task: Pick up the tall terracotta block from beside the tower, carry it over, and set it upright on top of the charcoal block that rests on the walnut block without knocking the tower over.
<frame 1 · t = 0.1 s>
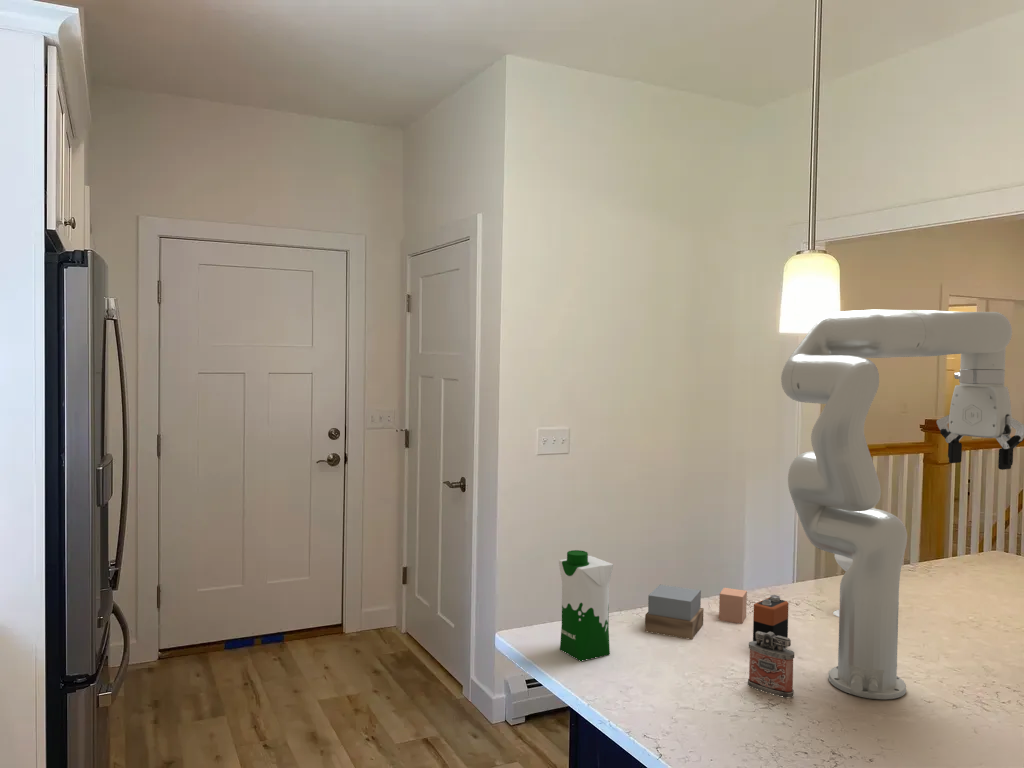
hand: (979, 465, 154), 37 cm above the countertop, tool pointing down, fingers open, 9 cm apart
lighter: (770, 691, 137), on the countertop
pillar block: (732, 618, 174), on the countertop
battery: (770, 648, 157), on the countertop
milk carton: (585, 653, 153), on the countertop
tower top: (674, 611, 167), point 4 cm above the countertop, touching tower base
champagne flute: (848, 615, 177), on the countertop
tower base: (674, 629, 168), on the countertop, touching tower top
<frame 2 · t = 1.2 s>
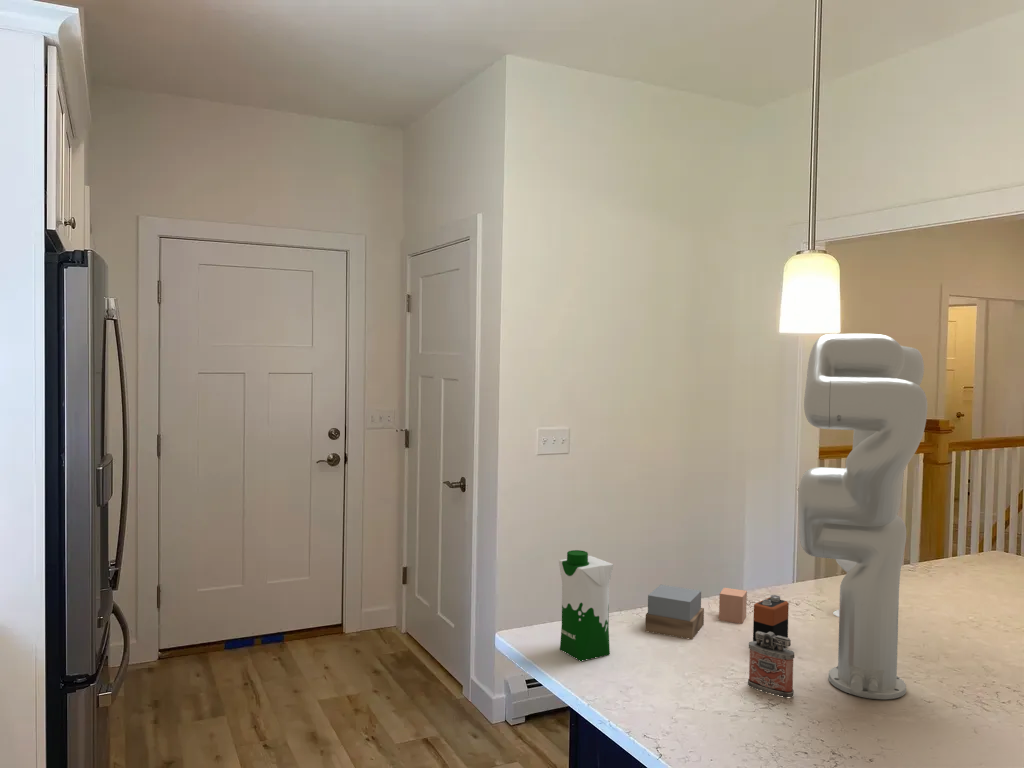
hand: (868, 494, 162), 30 cm above the countertop, tool pointing down, fingers open, 9 cm apart
nothing on the countertop moved.
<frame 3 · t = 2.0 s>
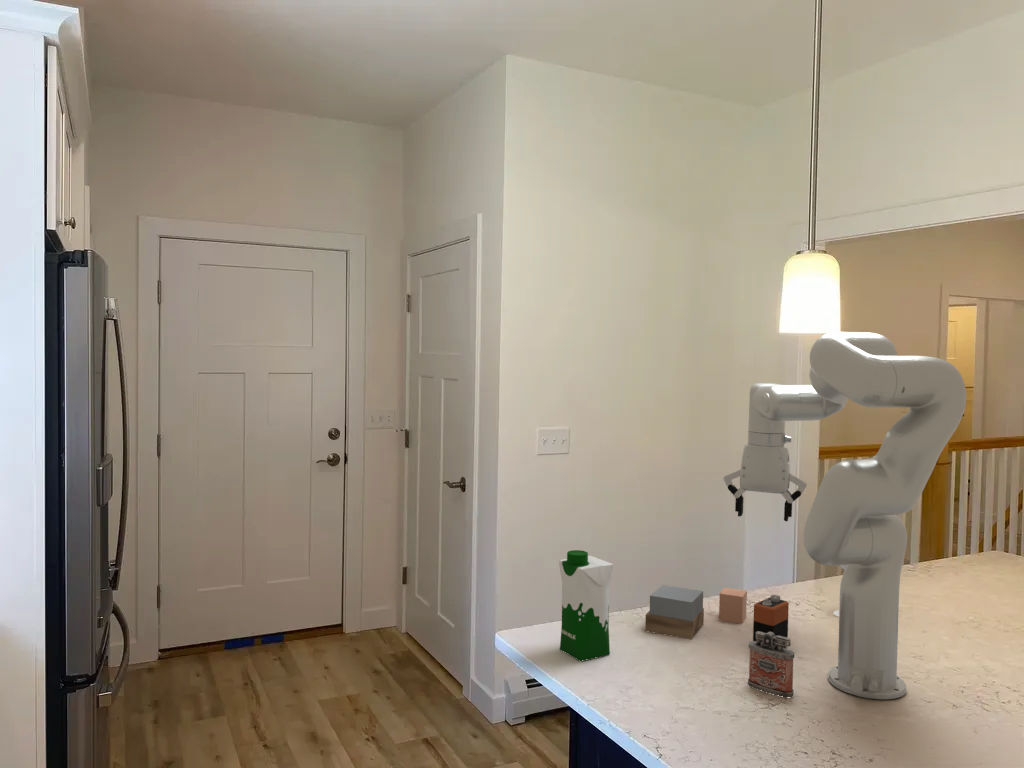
hand: (763, 517, 171), 23 cm above the countertop, tool pointing down, fingers open, 9 cm apart
nothing on the countertop moved.
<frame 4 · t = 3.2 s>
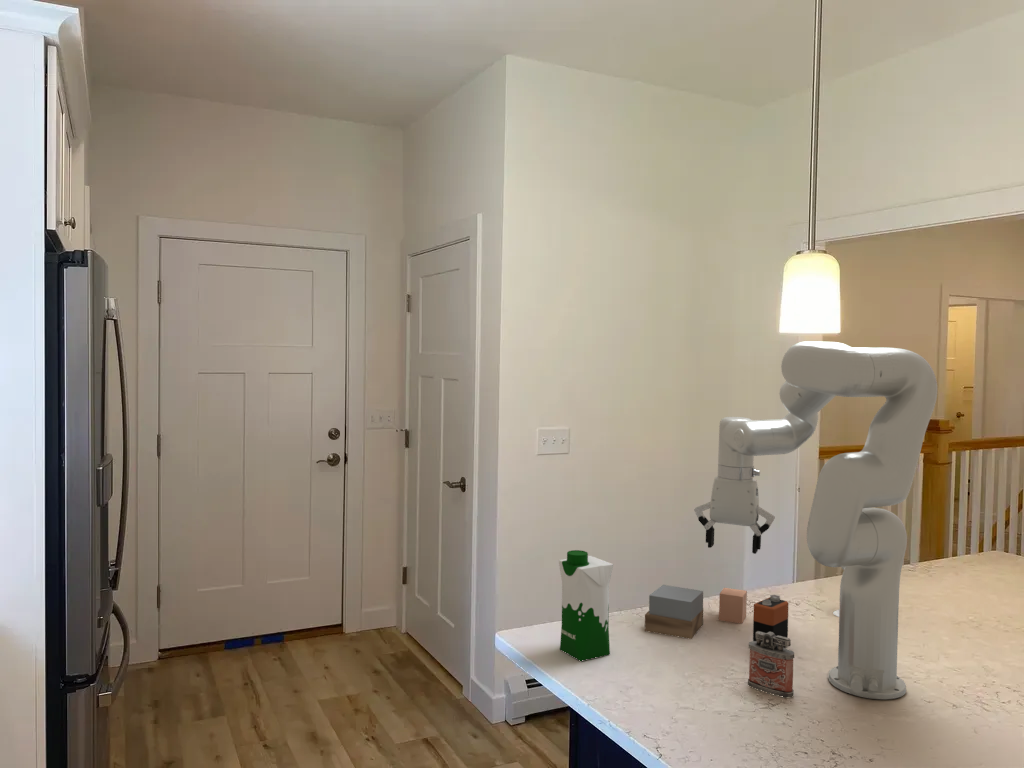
hand: (732, 549, 174), 15 cm above the countertop, tool pointing down, fingers open, 9 cm apart
tower top: (676, 611, 167), point 4 cm above the countertop
tower base: (674, 629, 168), on the countertop
everything else where it was.
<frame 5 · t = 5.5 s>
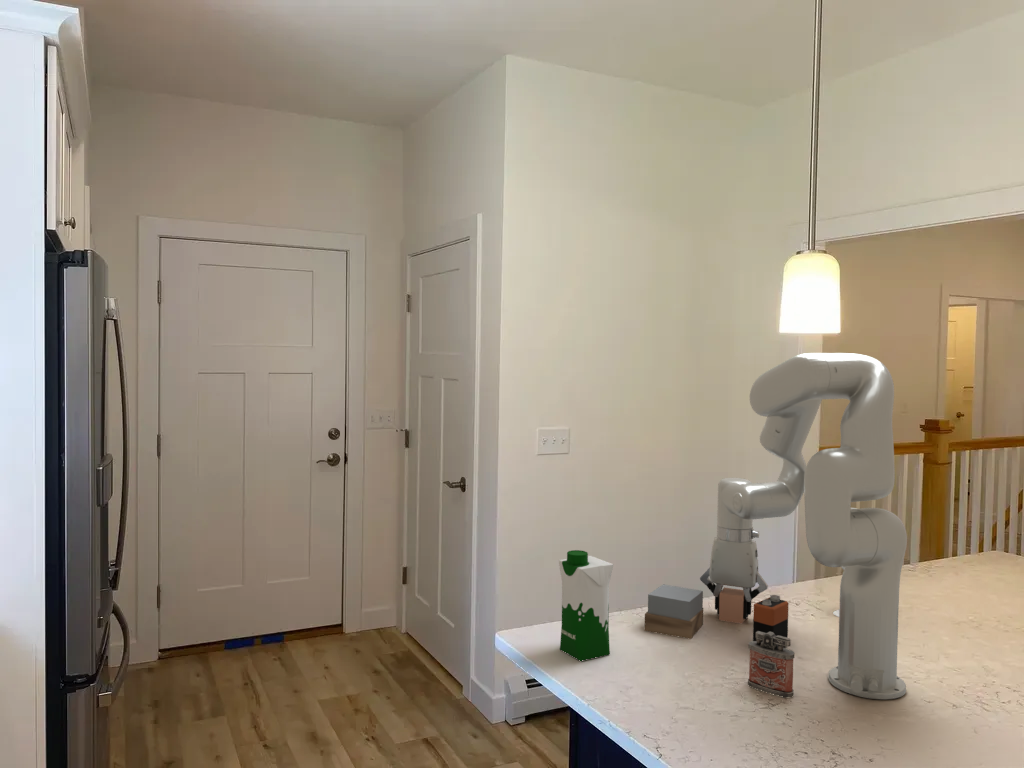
hand: (732, 614, 174), 1 cm above the countertop, tool pointing down, fingers closed on pillar block, 4 cm apart
pillar block: (732, 618, 174), on the countertop, touching gripper
everything else where it was.
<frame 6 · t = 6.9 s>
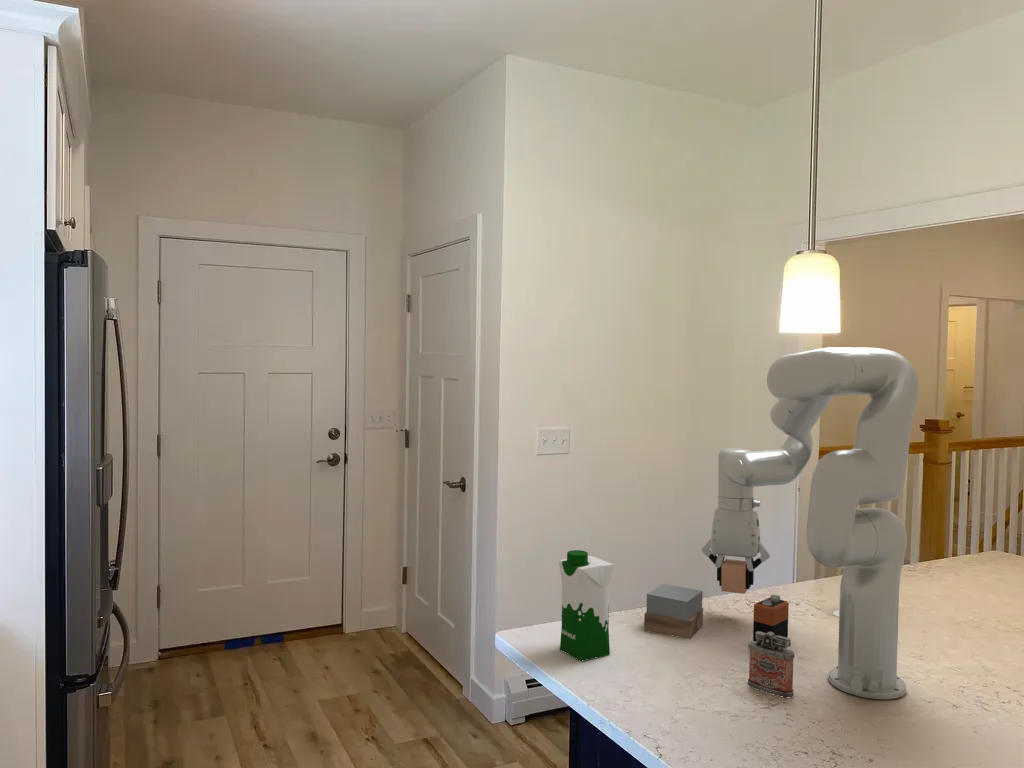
hand: (735, 585, 173), 8 cm above the countertop, tool pointing down, fingers closed on pillar block, 4 cm apart
pillar block: (735, 589, 173), point 7 cm above the countertop, touching gripper
everything else where it was.
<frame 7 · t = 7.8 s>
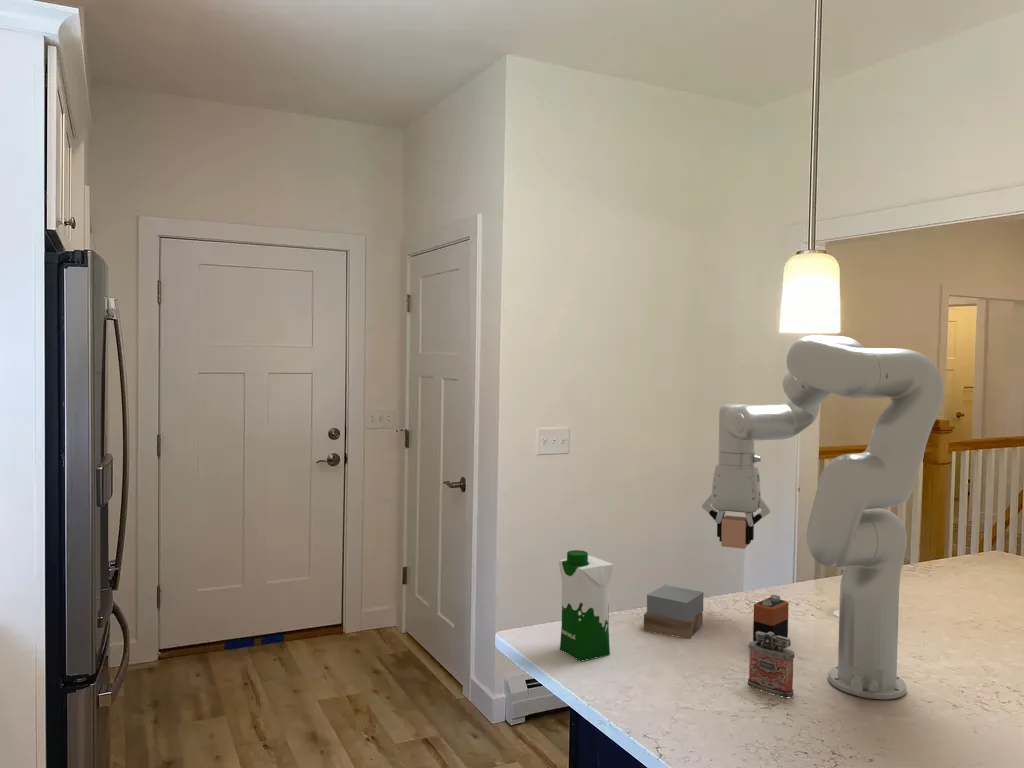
hand: (735, 541, 173), 17 cm above the countertop, tool pointing down, fingers closed on pillar block, 4 cm apart
pillar block: (735, 545, 173), point 17 cm above the countertop, touching gripper
tower top: (675, 611, 167), point 3 cm above the countertop, touching tower base
tower base: (673, 629, 168), on the countertop, touching tower top
everything else where it was.
when the fingers open (10 cm above the countertop, at t = 12.1 s): pillar block drops 2 cm, resting on tower top.
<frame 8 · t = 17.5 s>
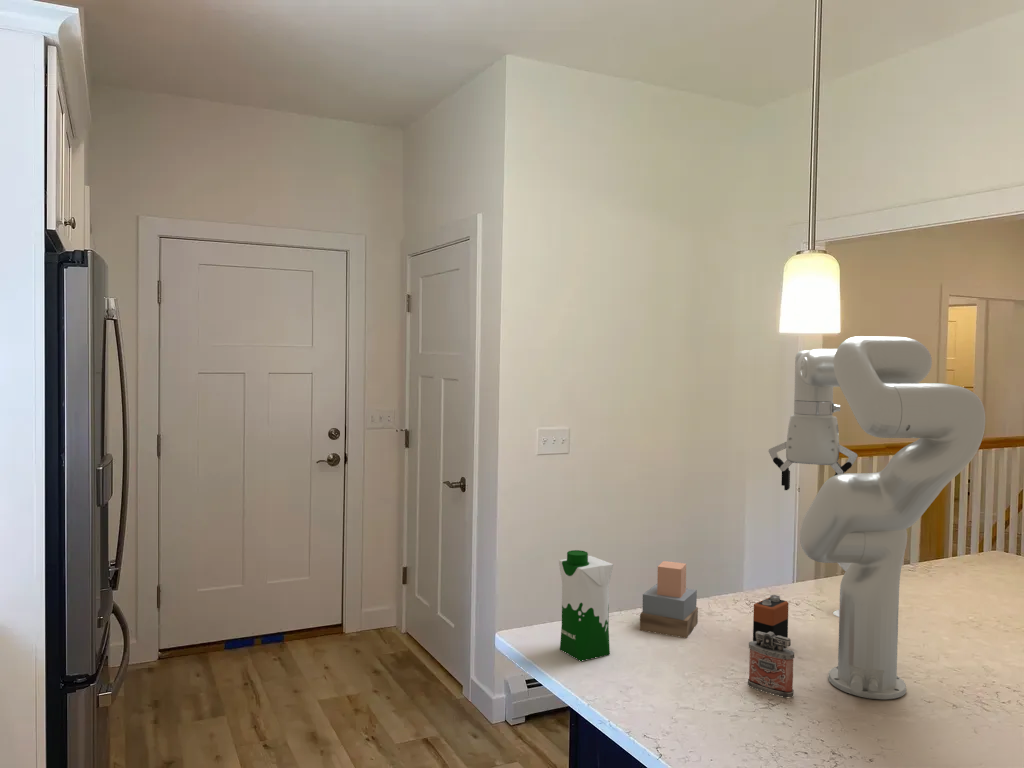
hand: (811, 491, 163), 30 cm above the countertop, tool pointing down, fingers open, 9 cm apart
pillar block: (671, 592, 168), point 7 cm above the countertop, touching tower top
tower top: (669, 610, 168), point 3 cm above the countertop, touching pillar block
tower base: (669, 628, 168), on the countertop
everything else where it was.
at the end: pillar block 0.5 cm off-centre on the tower top, point 4.0 cm above the tower top's base; pillar block tilted 0°; tower top 0.1 cm off-centre on the tower base, point 4.0 cm above the tower base's base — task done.
